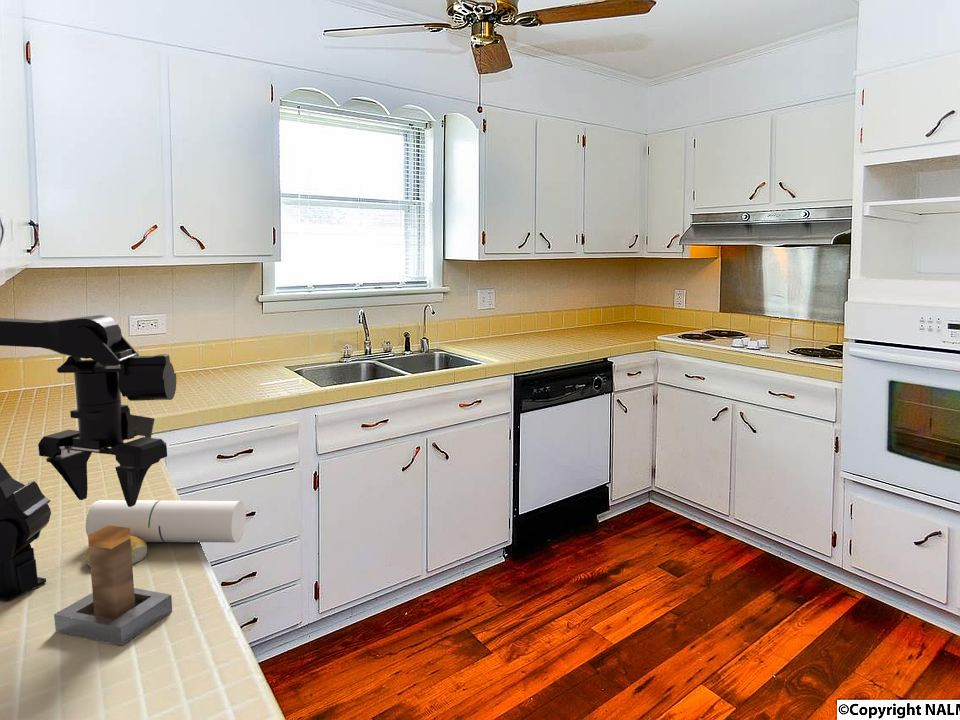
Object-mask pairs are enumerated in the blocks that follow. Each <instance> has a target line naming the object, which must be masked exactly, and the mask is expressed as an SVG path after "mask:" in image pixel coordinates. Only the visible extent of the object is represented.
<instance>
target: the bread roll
mask: <svg viewBox="0 0 960 720" xmlns="http://www.w3.org/2000/svg"><path fill="white" fill-rule="evenodd" d="M130 539H131V553H132V565H133V564H136V563H138V562H140V561H141V560H143V559H144V558H145V557H146V555H147V553H148V544H147V542H145V541H143V540H142V539H140V538H138V537H135V536H130ZM85 559H86V563H87V565H88V566H89V567H90V555H89V547H87V551H86V555H85Z"/></svg>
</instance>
